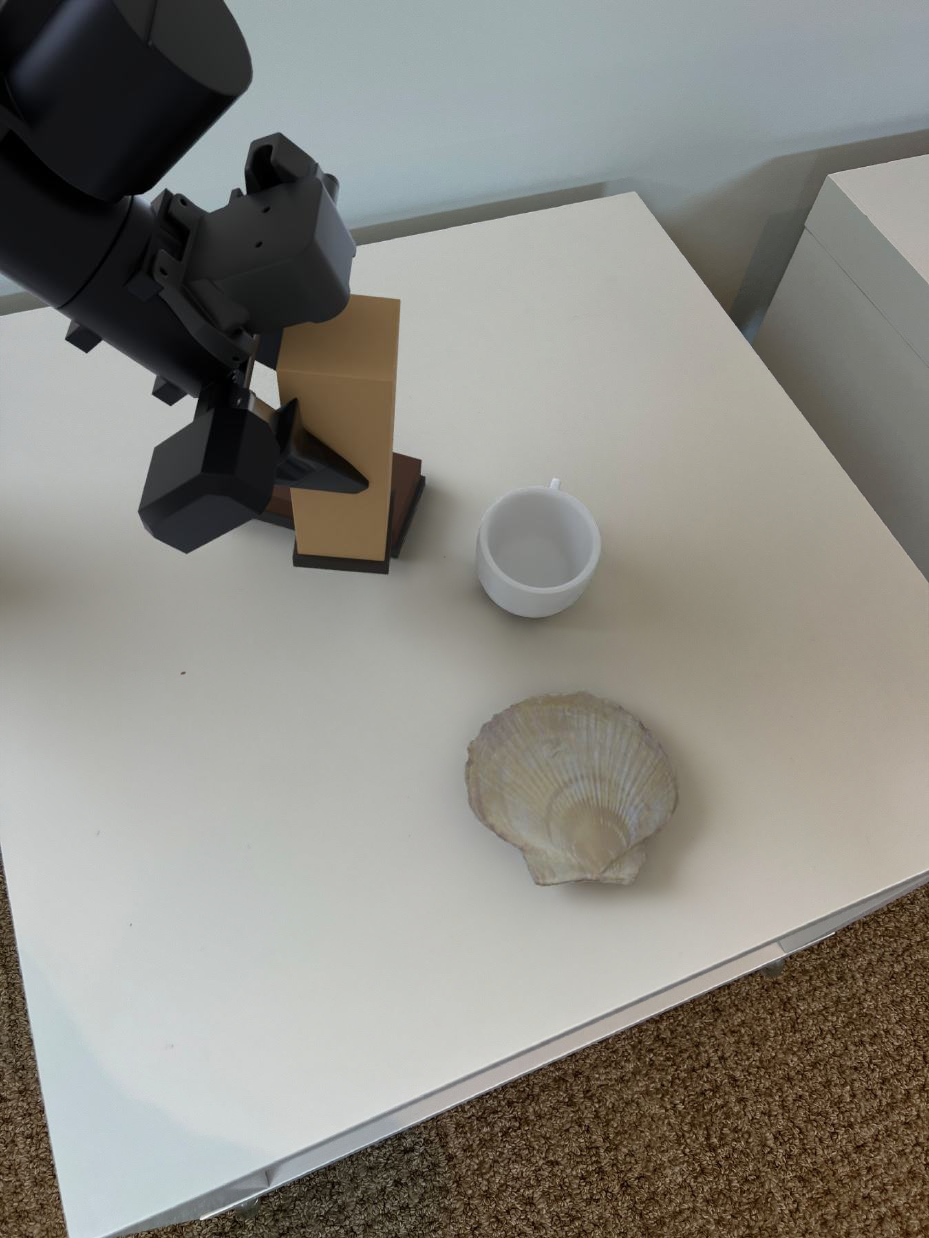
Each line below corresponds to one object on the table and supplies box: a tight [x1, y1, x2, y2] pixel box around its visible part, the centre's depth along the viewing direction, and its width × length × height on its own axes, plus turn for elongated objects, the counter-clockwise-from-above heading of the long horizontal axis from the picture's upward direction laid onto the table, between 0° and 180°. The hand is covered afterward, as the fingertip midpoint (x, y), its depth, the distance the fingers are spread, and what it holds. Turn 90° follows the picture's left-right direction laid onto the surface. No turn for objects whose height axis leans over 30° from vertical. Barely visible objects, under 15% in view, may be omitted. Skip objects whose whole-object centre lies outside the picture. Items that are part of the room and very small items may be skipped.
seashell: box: [463, 691, 681, 888], centre depth 50 cm, size 12×12×3 cm
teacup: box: [475, 477, 602, 619], centre depth 56 cm, size 10×8×5 cm
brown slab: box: [254, 451, 427, 560], centre depth 58 cm, size 11×6×3 cm, turn 74°
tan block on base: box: [275, 293, 402, 576], centre depth 45 cm, size 6×6×16 cm
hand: (367, 447), depth 45 cm, fingers closed on tan block on base, 5 cm apart
